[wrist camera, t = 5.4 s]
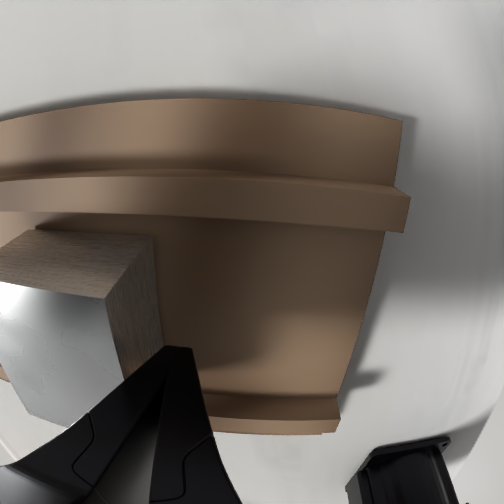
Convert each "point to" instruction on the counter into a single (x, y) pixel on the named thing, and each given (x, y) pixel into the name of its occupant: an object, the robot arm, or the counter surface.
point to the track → (227, 233)
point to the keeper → (75, 317)
